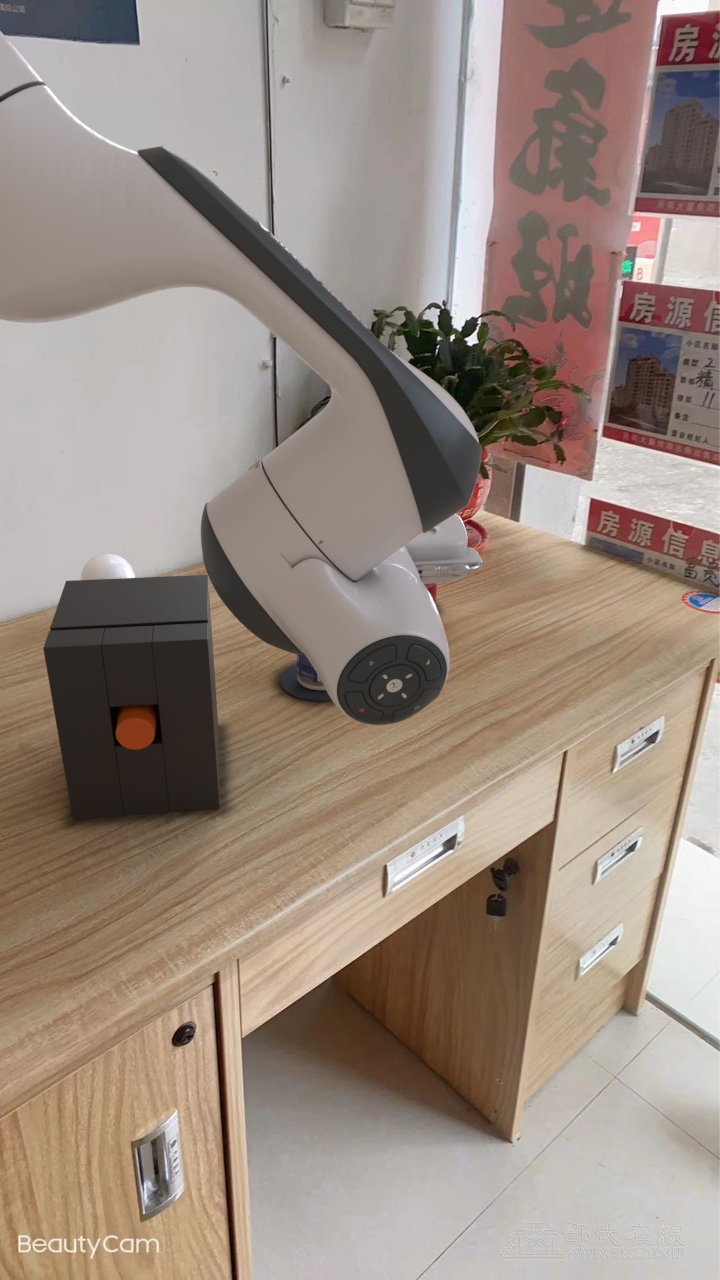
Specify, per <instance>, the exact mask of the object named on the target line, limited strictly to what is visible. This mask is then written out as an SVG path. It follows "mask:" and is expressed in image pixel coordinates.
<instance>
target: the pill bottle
mask: <svg viewBox="0 0 720 1280" xmlns="http://www.w3.org/2000/svg"><path fill="white" fill-rule="evenodd" d="M296 664H297V678H298V681H299V683H300V684H301V685H303V686H304V687H306V688H309V689H312V690H326V689H325V687H324V685H323V683H322V681H321V679H320V678H319V676H318V674H317V672H316V671H315V669H314V667H313V666H312V664H311V663H310V661H309V660H308V658H307V657H306V655H298V654H296Z"/></svg>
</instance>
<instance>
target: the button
mask: <svg viewBox="0 0 720 1280" xmlns="http://www.w3.org/2000/svg"><path fill="white" fill-rule="evenodd" d="M156 717H157V710H156V707H155V705H154V704H152V705H136V706H121V707H120V709H119V715H118V721H117V727H116V738H117V740H118V742H119V743H120V744H121V745H122V746H124V747H126V748H128V749H133V750H138V749H143V748H145V747H147V746H149V745H150V744H151V743H152V741H153V740H154V737H155V728H156Z"/></svg>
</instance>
